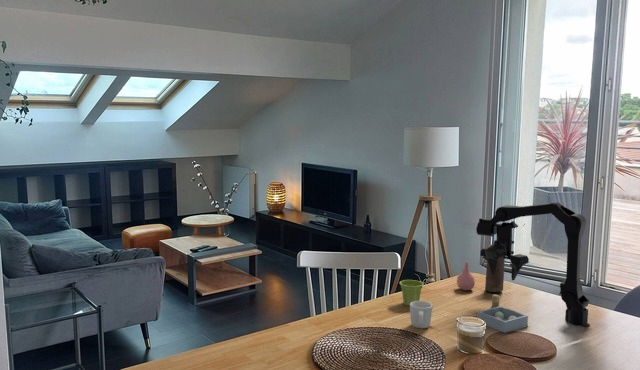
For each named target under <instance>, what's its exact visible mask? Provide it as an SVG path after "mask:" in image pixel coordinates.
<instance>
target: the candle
mask: <svg viewBox="0 0 640 370" xmlns="http://www.w3.org/2000/svg"><path fill="white" fill-rule="evenodd" d="M491 246H493V244H489V245H488V246H487V248H489V247H491ZM505 260H506V259H505V258H501V257H499V258H498V260H497V266H496V272H495V275H492V272H491V269H490V266H489V264H488V261H487V260H486V271H485V272H486V273H485V285H484V291H487V292H490V293H501V292H502V291H503V290H504V282H505V281H504V278H505Z"/></svg>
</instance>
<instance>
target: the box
mask: <svg viewBox="0 0 640 370" xmlns="http://www.w3.org/2000/svg"><path fill="white" fill-rule="evenodd" d="M496 312H502V313H503V314H504V319H503V320H501V319H498V318H496V317H495V313H496ZM510 316H515V317H517V318H514V319H510V320H508V318H509V317H510ZM478 317H479V318H481V319H483V320H485V322H486V325H485V326H487V327H490V328H492V329H494V330H497V331H500V332H502V333H509V332H511V331H516V330H519V329H522V328H525V327H528V321H529V315H527V314H524V313H521V312H518V311H516V310H514V309H513V310H512V309H510V308H508V307H504V306H502V305H499V307H491V308H487V309H484V310H479V311H477V318H478Z"/></svg>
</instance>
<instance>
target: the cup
mask: <svg viewBox="0 0 640 370" xmlns="http://www.w3.org/2000/svg"><path fill="white" fill-rule="evenodd" d="M409 311H410V313H409V315H410V323H411V325H412V327H414V328H417V329H427V328H429V327H430V325H431V322H432V315H433V314H432V313H433V304H432V302H429V301H425V300H424V301H423V300H419V301H414V302H411V303H410V305H409Z"/></svg>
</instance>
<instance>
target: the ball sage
mask: <svg viewBox="0 0 640 370" xmlns="http://www.w3.org/2000/svg"><path fill="white" fill-rule="evenodd" d="M495 317H500V318H501V319H502V320H503V319H504V314H503V313H502V312H496V313H495Z"/></svg>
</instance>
